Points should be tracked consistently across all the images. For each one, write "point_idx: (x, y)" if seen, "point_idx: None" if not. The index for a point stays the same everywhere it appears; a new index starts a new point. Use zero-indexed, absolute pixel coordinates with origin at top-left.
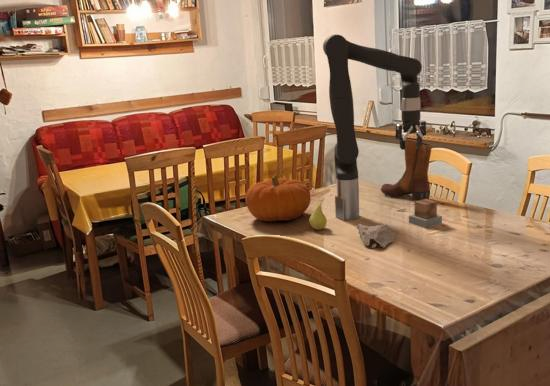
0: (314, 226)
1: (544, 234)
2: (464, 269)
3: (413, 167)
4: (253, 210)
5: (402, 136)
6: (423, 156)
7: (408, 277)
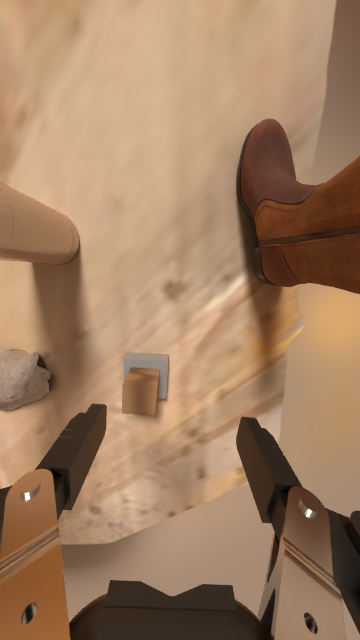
0: None
1: (223, 493)
2: None
3: (317, 231)
4: None
5: (41, 532)
6: None
7: None
